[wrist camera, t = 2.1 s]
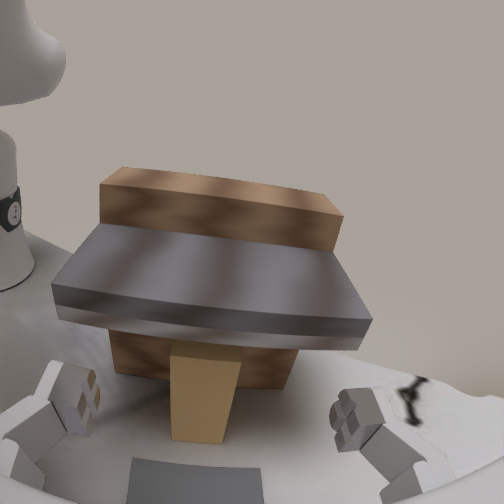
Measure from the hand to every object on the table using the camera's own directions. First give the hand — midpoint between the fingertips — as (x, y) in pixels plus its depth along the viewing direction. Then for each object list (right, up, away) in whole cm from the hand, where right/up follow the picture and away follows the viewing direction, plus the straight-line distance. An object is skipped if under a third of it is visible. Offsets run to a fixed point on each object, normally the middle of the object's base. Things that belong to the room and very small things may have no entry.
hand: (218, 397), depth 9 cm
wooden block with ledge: (-5, -11, +23) cm, 26 cm away
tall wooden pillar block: (-5, -13, +19) cm, 24 cm away
